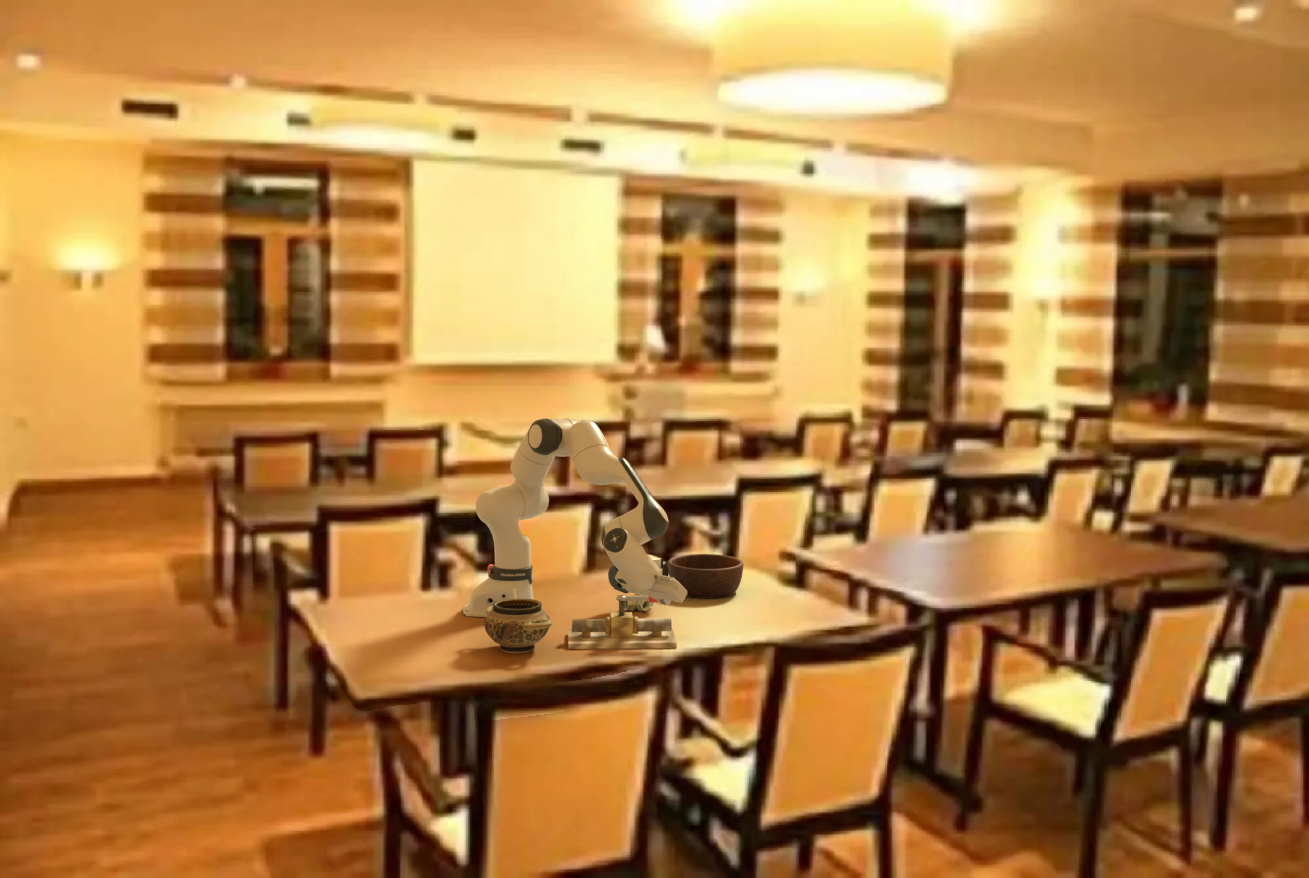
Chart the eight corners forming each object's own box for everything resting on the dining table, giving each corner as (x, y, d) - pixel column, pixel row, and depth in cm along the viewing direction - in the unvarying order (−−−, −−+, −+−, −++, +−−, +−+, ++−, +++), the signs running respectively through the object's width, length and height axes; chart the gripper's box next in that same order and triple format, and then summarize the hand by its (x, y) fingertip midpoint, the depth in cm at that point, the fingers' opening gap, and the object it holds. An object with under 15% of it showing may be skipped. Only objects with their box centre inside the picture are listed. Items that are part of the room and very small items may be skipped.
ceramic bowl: (563, 664, 343) (574, 609, 344) (511, 660, 332) (522, 603, 332) (511, 645, 362) (522, 593, 362) (460, 640, 350) (471, 587, 351)
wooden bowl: (652, 593, 413) (652, 562, 412) (694, 579, 434) (694, 550, 432) (717, 605, 399) (717, 573, 398) (757, 590, 419) (757, 559, 418)
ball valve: (621, 616, 384) (621, 559, 382) (607, 610, 391) (607, 553, 389) (671, 609, 393) (671, 553, 391) (656, 603, 400) (657, 548, 398)
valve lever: (616, 602, 354) (616, 595, 354) (616, 600, 357) (616, 593, 357) (669, 602, 355) (669, 595, 354) (669, 599, 358) (669, 593, 357)
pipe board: (568, 648, 348) (568, 608, 347) (568, 634, 363) (568, 595, 362) (676, 647, 350) (677, 607, 349) (672, 633, 365) (672, 594, 364)
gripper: (677, 569, 336) (700, 599, 344) (620, 559, 349) (644, 587, 357) (666, 588, 333) (690, 618, 341) (610, 577, 346) (633, 606, 354)
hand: (666, 602), depth 349 cm, fingers closed
